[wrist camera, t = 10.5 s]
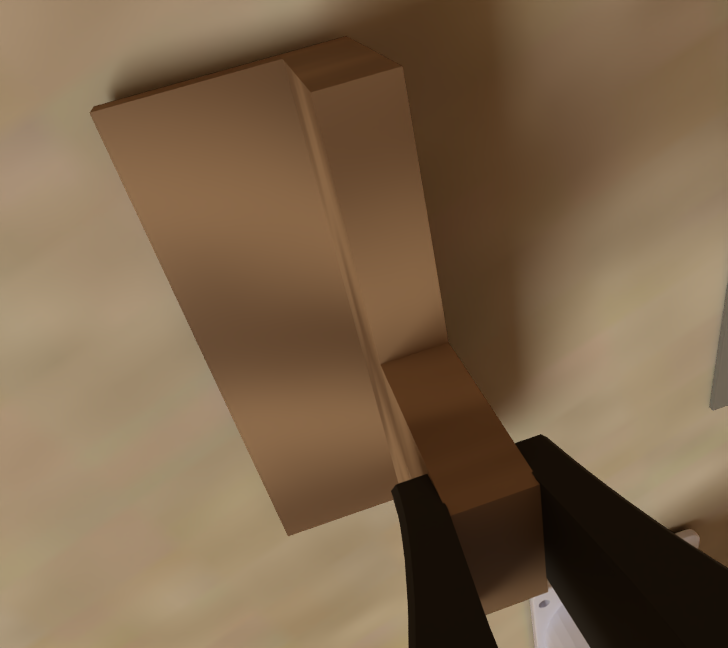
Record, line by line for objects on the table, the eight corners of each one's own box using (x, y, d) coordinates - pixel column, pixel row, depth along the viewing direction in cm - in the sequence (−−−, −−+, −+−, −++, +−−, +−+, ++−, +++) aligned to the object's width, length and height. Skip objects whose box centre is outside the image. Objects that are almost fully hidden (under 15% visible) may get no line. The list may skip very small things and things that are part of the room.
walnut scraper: (437, 469, 21) (556, 721, 14) (285, 522, 20) (331, 809, 13) (346, 35, 13) (518, 127, 6) (93, 106, 12) (-31, 291, 6)
